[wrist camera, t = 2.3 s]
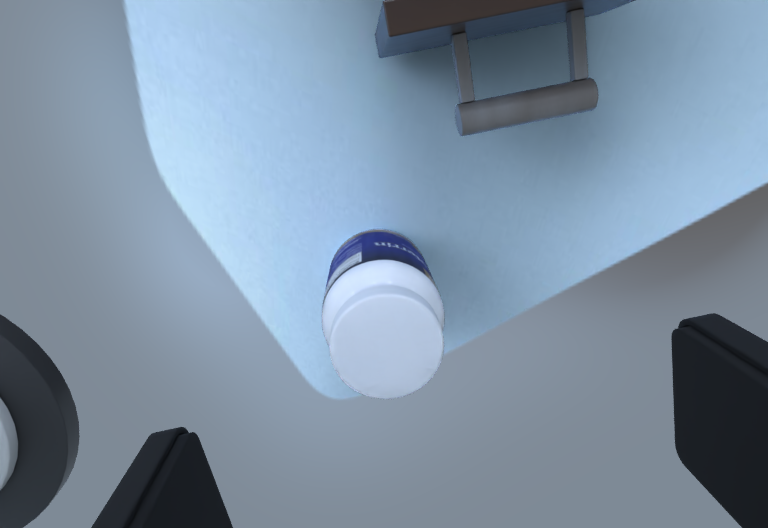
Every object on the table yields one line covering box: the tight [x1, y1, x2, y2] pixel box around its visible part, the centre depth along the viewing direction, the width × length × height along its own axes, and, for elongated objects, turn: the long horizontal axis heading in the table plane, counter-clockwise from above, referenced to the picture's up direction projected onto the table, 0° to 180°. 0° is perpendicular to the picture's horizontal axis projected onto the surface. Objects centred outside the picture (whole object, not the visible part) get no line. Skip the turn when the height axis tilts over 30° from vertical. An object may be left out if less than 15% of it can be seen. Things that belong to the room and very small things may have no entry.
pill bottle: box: [322, 229, 445, 399], centre depth 25 cm, size 6×6×10 cm
